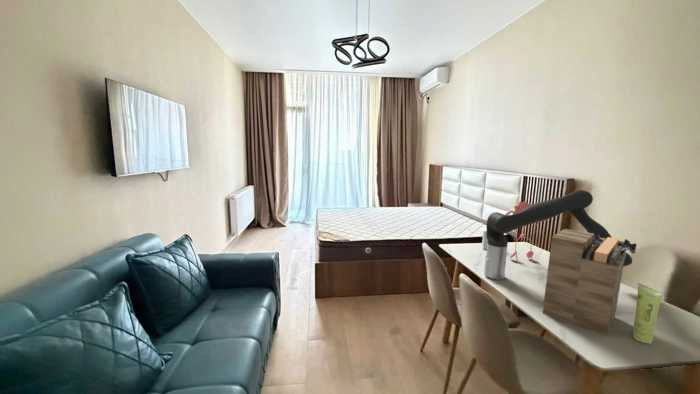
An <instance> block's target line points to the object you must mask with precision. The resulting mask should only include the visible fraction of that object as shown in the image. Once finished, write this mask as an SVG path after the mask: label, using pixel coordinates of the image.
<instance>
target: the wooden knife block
mask: <svg viewBox="0 0 700 394" xmlns="http://www.w3.org/2000/svg"><path fill="white" fill-rule="evenodd" d="M593 239H594V234H593V233H588V232H587V231H586V232H585V231H580V230H575V229H568V228H564V229H562V230H561V231H559V232H558V233H556V234H555V235H553V236H552V237H551V241H550V242H551V243H550V251H549V256H548V257H549V259H548V266H547V275H546V283H545V291H544V297H543V298H544V299H543V307H542V314H544V313H545V314H544V315H548V316H551V317H553V318H556V319H558V320H561V321H563V322H567V323H570V324H572V325H575V326H577V327H580V328H583V329H586V330H587V331H592V332H593V333H596V334H599V335H603V336H608V334H609V332H610V329H611V327H612V325H613V322H614V320H615V317H616V311H617V305H618V300H619V293H620V288H621V283H622V282H621V281H622V276H623V272H624V271H623V270H624V267H623V265H624V259H625V255H624V254H621V250H622V246H618V247H617V249H616V250H615V251H614V253H613V254H612V256H611V257H610V259H609V260H608V262H607V263H606V264H605V263H601V262H596V261H594V255H595V251H596V250H597V249H598V248H599V247H600V242H596V243H595V244H594V245H593Z"/></svg>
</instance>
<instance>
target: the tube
mask: <svg viewBox="0 0 700 394" xmlns="http://www.w3.org/2000/svg"><path fill="white" fill-rule="evenodd" d="M663 296H664V292H662V291H660V290H658V289H654V288H653V287H649V286H648V285H644V284H642V283H639V282H638V283H637V297H636V306H635V315H634V323H633V330H632V338H633V339H634V340H636V341H638V342H640V343H643V344H652V343H653V338H654V333H655V330H656V329H655V328H656V323H657V320H658V319H657V318H658V314H659V310H660V306H661V302H662V299H663Z"/></svg>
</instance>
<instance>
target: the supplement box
mask: <svg viewBox="0 0 700 394" xmlns="http://www.w3.org/2000/svg"><path fill="white" fill-rule="evenodd" d="M486 229H487V227H483V228H482V241H481V246H482V250H487V242H488V240H487V237H486Z"/></svg>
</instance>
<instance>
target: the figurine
mask: <svg viewBox="0 0 700 394" xmlns="http://www.w3.org/2000/svg"><path fill="white" fill-rule="evenodd" d="M527 202H528V201H519V202H518V205H514V210H510V211H508V212H506V213H504V215H511V214H512V215H513V214H517V213H520V212H522V211H523V210H524V209H525V208H526V207H528V206H529V205H532V204H533V203H527ZM548 220H549V219H547V220H544V221H543V222H546V221H548ZM539 224H540V222H536V223H533V224H532V226H533V225H534V226H538V225H539ZM525 228H526V226H523V230H522V233H521V234H520V235H519V237H518V239H517V240H516V241H515V244H517V242H518V241H519V239H520V238H521V239H525V238H526V239H528V240H530V241H531V245H530V251H528V252H527V253H526V257H527V258H528V259H530V258H531V263H534V260H533V256H534V251H532V247H533V243H534V240H533V239H530V238H529V237H527V236H526V234H525V233H524V231H525ZM513 257H515V259H516V263H517V262H518V263H519V259H518V251H517V245H515V248H514V252H513V253H512V254H511V255H510V257H509V260H511V259H513Z"/></svg>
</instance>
